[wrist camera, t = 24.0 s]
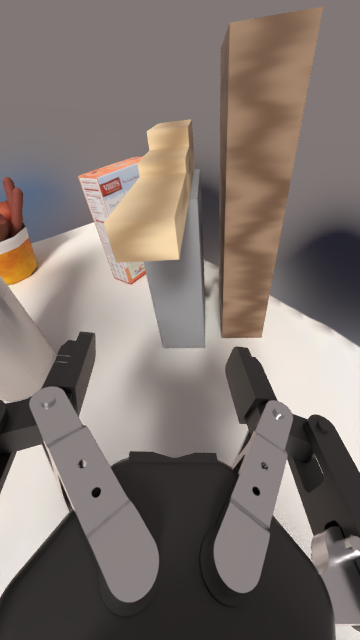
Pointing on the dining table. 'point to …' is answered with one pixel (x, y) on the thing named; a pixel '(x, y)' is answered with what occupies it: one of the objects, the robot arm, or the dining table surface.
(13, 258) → the bucket of meat
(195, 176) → the step
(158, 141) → the tan wooden molding strip
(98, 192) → the cracker box
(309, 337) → the dining table surface
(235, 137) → the wooden block
